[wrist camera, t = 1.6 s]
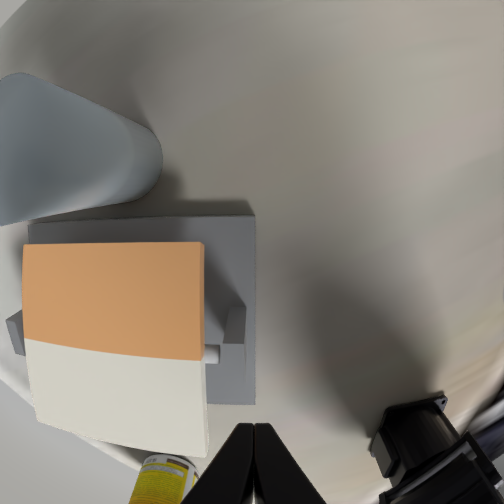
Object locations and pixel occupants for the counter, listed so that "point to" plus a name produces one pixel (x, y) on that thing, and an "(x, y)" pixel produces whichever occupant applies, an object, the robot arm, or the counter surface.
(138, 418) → the two-tone square pad
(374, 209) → the counter surface
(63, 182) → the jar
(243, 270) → the switch base
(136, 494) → the supplement bottle
